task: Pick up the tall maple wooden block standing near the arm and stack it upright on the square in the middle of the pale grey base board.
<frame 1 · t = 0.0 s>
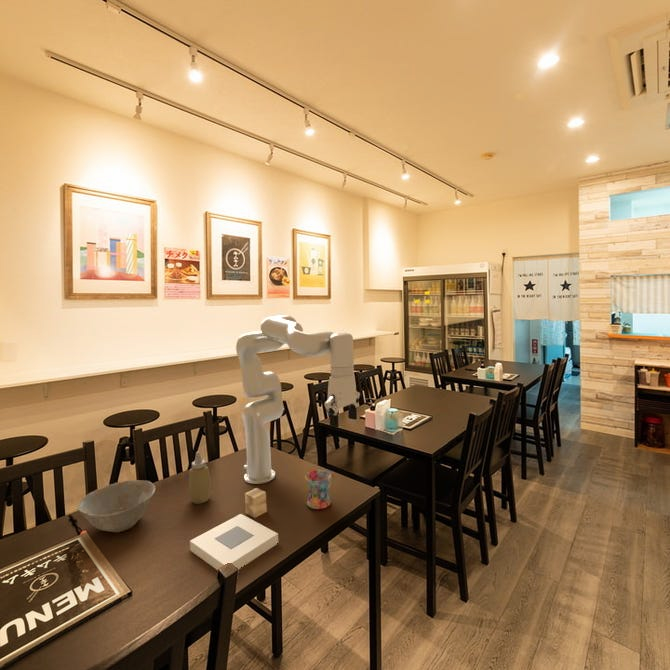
hand: (343, 422, 129), 31 cm above the table, tool pointing down, fingers open, 9 cm apart
squeeze bottle: (200, 500, 143), on the table
ceramic bowl: (120, 525, 128), on the table
mug: (321, 503, 139), on the table
maple block: (256, 512, 134), on the table
base board: (234, 546, 115), on the table
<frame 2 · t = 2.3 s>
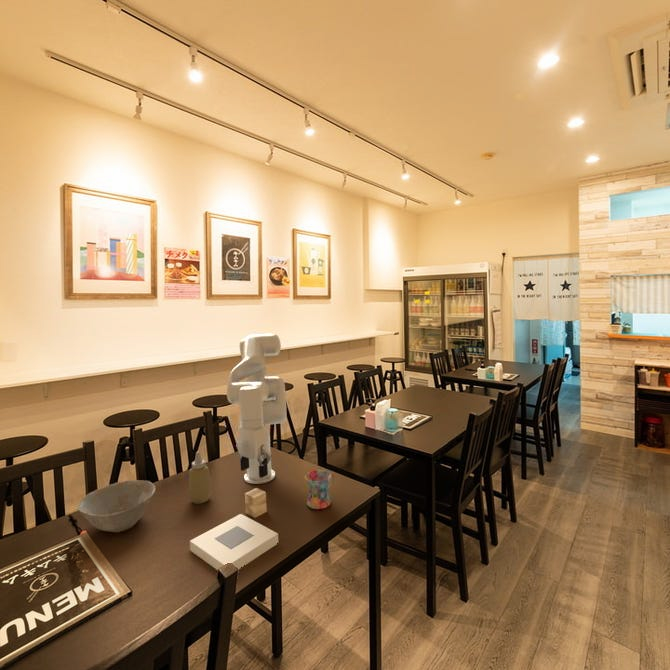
hand: (254, 472, 132), 14 cm above the table, tool pointing down, fingers open, 9 cm apart
nothing on the table moved.
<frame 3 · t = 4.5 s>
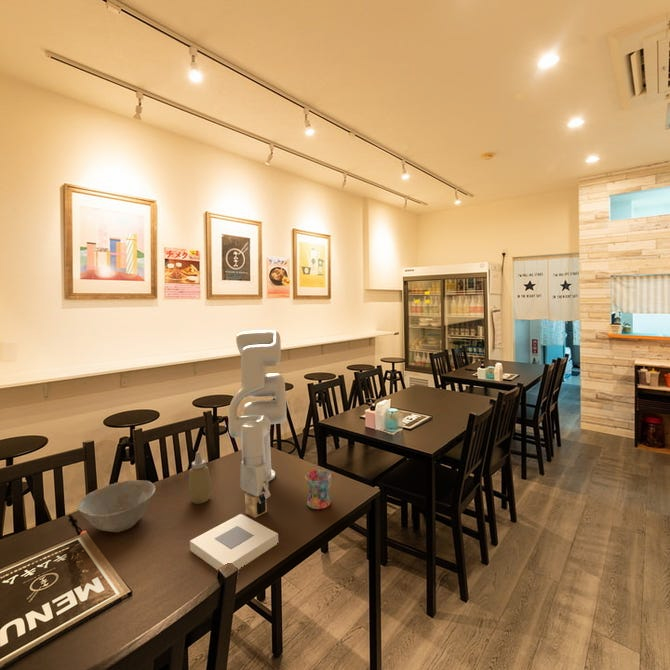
hand: (256, 509, 134), 1 cm above the table, tool pointing down, fingers closed on maple block, 5 cm apart
maple block: (256, 512, 134), on the table, touching gripper
everything else where it was.
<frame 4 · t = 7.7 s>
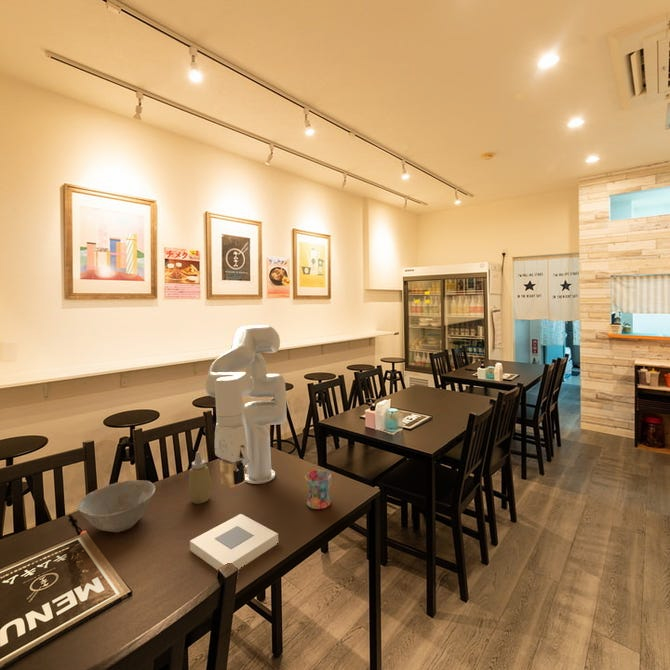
hand: (233, 479, 115), 20 cm above the table, tool pointing down, fingers closed on maple block, 5 cm apart
maple block: (233, 482, 115), point 19 cm above the table, touching gripper
everything else where it was.
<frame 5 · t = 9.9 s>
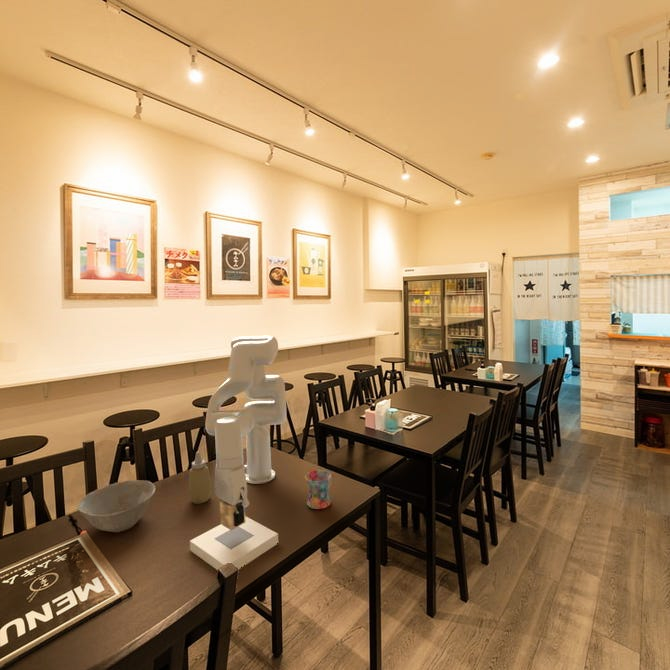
hand: (233, 520, 114), 8 cm above the table, tool pointing down, fingers closed on maple block, 5 cm apart
maple block: (233, 523, 114), point 7 cm above the table, touching gripper
everything else where it was.
when the fingers open (5 cm above the table, at t = 11.3 s): maple block drops 1 cm, resting on base board.
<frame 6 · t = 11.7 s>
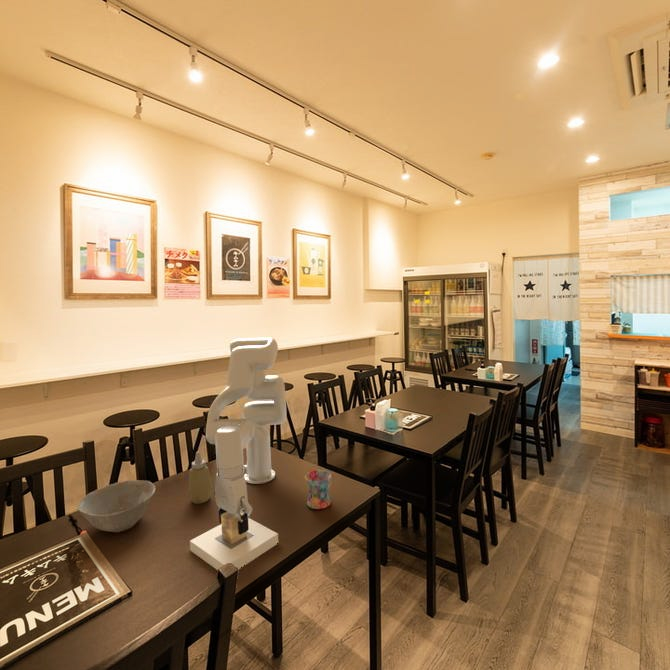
hand: (233, 526, 115), 6 cm above the table, tool pointing down, fingers open, 8 cm apart
maple block: (234, 536, 115), point 3 cm above the table, touching base board
everything else where it was.
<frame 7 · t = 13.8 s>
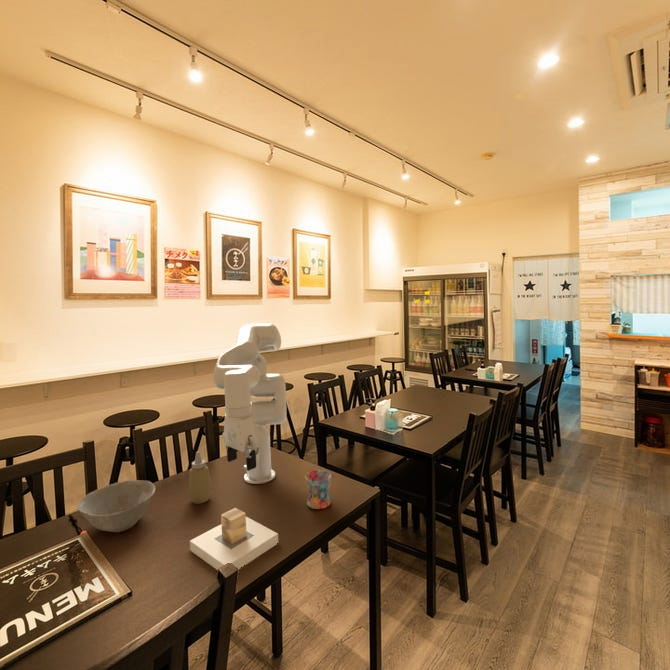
hand: (241, 464, 121), 22 cm above the table, tool pointing down, fingers open, 9 cm apart
nothing on the table moved.
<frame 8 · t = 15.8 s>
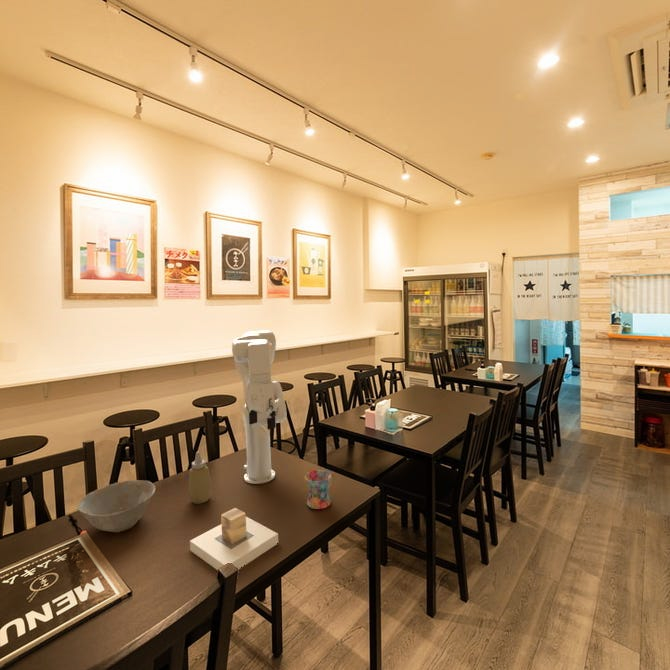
hand: (262, 425, 137), 28 cm above the table, tool pointing down, fingers open, 9 cm apart
nothing on the table moved.
at the end: maple block inside the target area on the base board (0.0 cm from its centre), point 3.1 cm above the base board's base; maple block tilted 0°; the gripper is holding nothing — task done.
